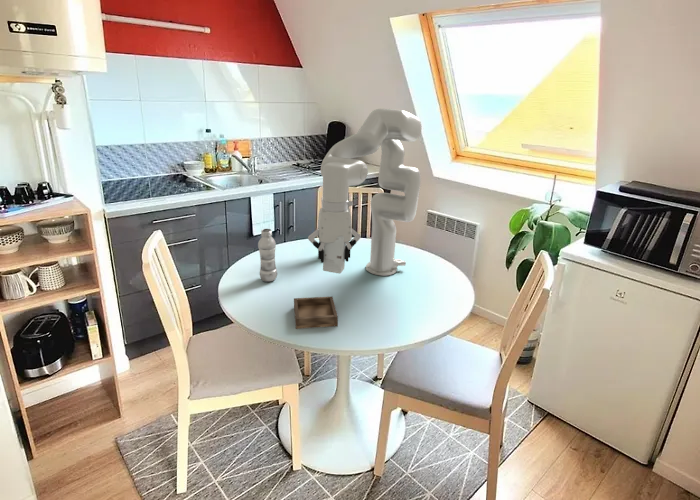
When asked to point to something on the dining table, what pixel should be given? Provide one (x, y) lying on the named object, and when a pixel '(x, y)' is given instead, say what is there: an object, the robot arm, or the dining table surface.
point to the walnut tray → (315, 312)
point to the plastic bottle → (267, 256)
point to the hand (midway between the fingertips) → (334, 260)
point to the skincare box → (334, 256)
